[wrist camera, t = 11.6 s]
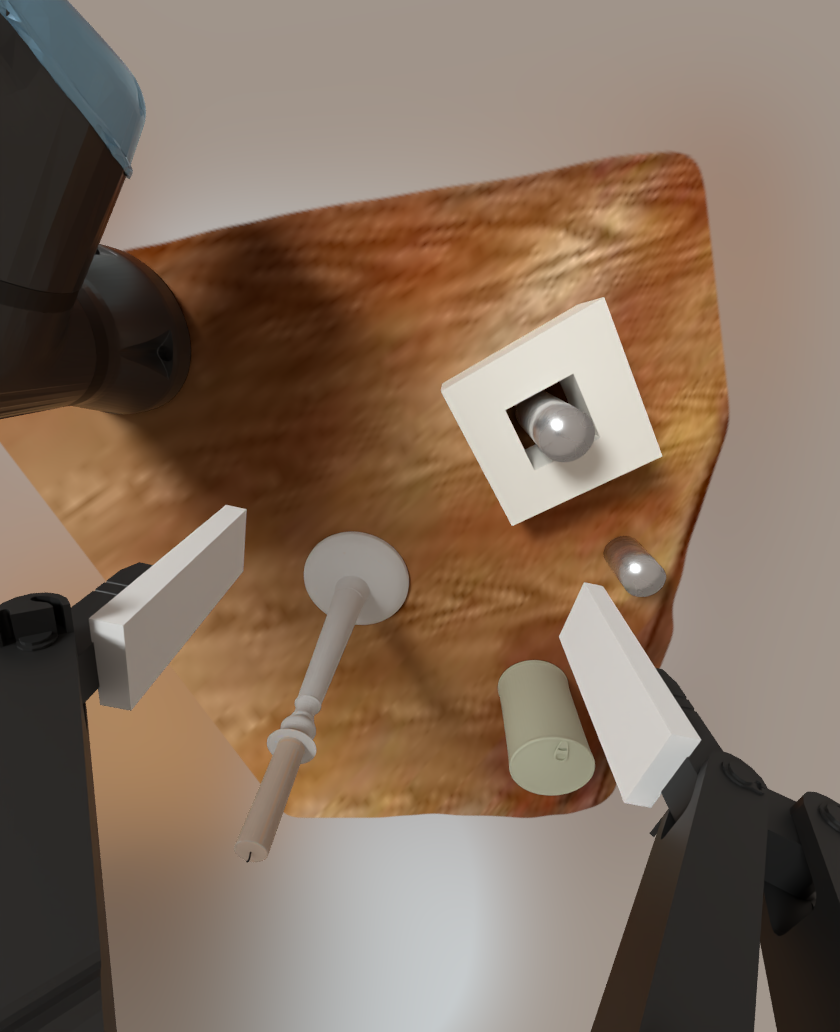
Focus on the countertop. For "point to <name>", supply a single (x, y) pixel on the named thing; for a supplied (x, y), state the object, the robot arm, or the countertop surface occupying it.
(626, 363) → the hole block
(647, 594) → the short pin
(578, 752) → the can
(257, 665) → the countertop surface
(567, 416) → the long pin
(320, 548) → the candlestick
